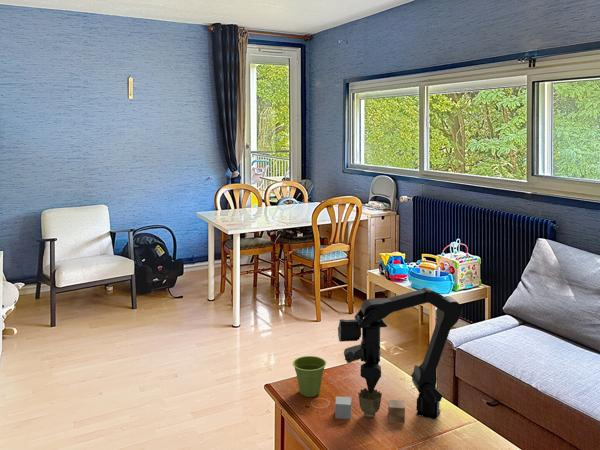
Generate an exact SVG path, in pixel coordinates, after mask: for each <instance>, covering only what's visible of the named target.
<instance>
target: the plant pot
mask: <svg viewBox="0 0 600 450" xmlns="http://www.w3.org/2000/svg"><path fill="white" fill-rule="evenodd" d="M292 366H293V368H294V372H295V374H296V379H297V385H298V391H299V394H300V395H301V396H304V397H305V398H306V397H307V398H311V397H312V398H313V397H316V396H317V395H319V394H320V393H321V388H322V382H323V375H324V371H325V367H326V366H327V361H326V360H325V359H324V358H323V357H319V356H317V355H315V356H314V355H304V356H303V355H302V356H299V357H297V358H295V359H294V360H293V362H292Z"/></svg>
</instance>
